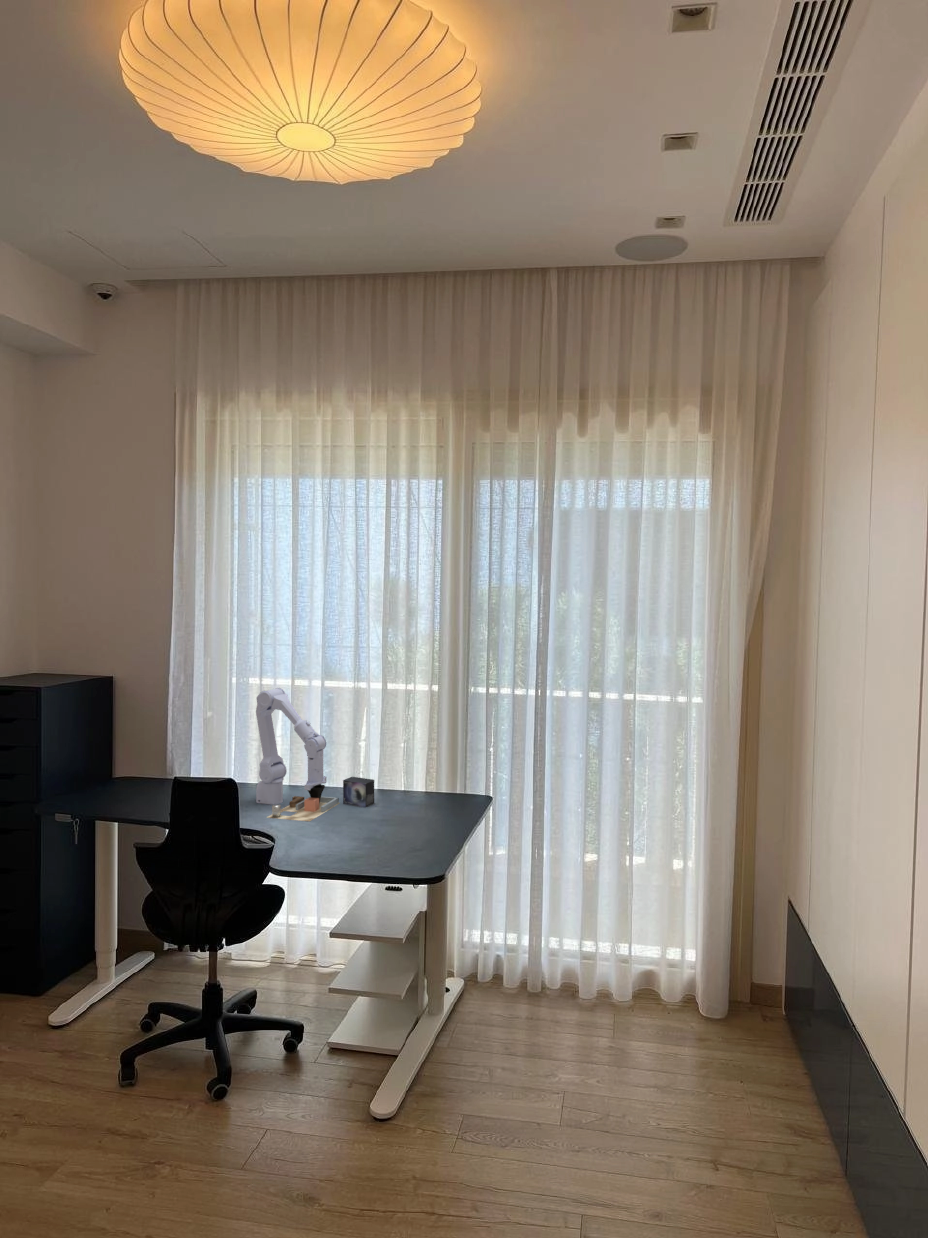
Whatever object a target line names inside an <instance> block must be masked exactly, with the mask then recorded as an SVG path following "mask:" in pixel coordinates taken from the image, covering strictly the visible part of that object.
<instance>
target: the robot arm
mask: <svg viewBox="0 0 928 1238" xmlns="http://www.w3.org/2000/svg"><path fill="white" fill-rule="evenodd" d="M255 700H256V703H257V705H256V710H255V713H256V715H255V716H256V721H257V727H258V732H259V733H258V734H259V738H260V744H261V745H260V746H261V751H262V759H261V761H260V762H259V771H258V776H259V779H260V780H259V782H258V783H257V785H256V791H255V795H256V797H255V798H256V802H255V803H257V804H263V805H277V804H278V805H280V804H282V803H283V801H284V794H283V793H284V792H283V791H284V788H283V787H284V785H283V783H284V782H283V781H284V780H285V779H284V777H286V774H287V772H288V771H287V770H288V769H287V766H286V765H285V763H284V758H282V757H281V756H280V755H279V753H278V746H277V742H276V741H277V740H276V733H275V729H274V723H273V717H272V716H273V715H272V714H273V713H274V712H275V711H276V710H277V711H281V712H282V713H283V714H284V715H285V716H286V717H287V719H288V720H289V721H290V722H291V723H292V724H293V725H294V729H293V730H294V732H295V733H296V734H297V736H299V738H300V740H301V741H302V742H303V743H304V745H303V747H304V750H305V752H306V756H307V780H306V783H305V784H304V791H307V792H308V794H309V797H311V798H319V803H320V799H321V796H322V794H323V792H324V789H325V786H326V785H325V784H326V783H327V776H326V775H325V776H324V750H325V749H326V747H327V740H326V738H325V737H324V735H322V734H320V733H318V732H317V731H315V729H314V728H313V726H312V725H311V722H310V721H308V720H307V719H303V718H301V716H300V715H299V713H298V711H297V710H296V709H295V707H294V706H293V704H292V703H291V701H290V699H289V695H288V694H287V693H286V691H285V690H284V689H283V688H280V687H276V688H273V689H268V690H262V691H260V692H259V693H258V695H257V696H256V699H255Z"/></svg>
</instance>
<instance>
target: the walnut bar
mask: <svg viewBox="0 0 928 1238" xmlns="http://www.w3.org/2000/svg"><path fill="white" fill-rule="evenodd" d="M303 800H305V796H297V795H293V797H292V800H290V801H289V805H290V807H296V804H298V803H300V802H301V801H303Z"/></svg>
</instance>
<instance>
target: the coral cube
mask: <svg viewBox="0 0 928 1238" xmlns="http://www.w3.org/2000/svg"><path fill="white" fill-rule="evenodd" d="M318 809H319V798H311V797H310V796H309V797H307V798H304V811H312V812H315V811H317V810H318Z"/></svg>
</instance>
